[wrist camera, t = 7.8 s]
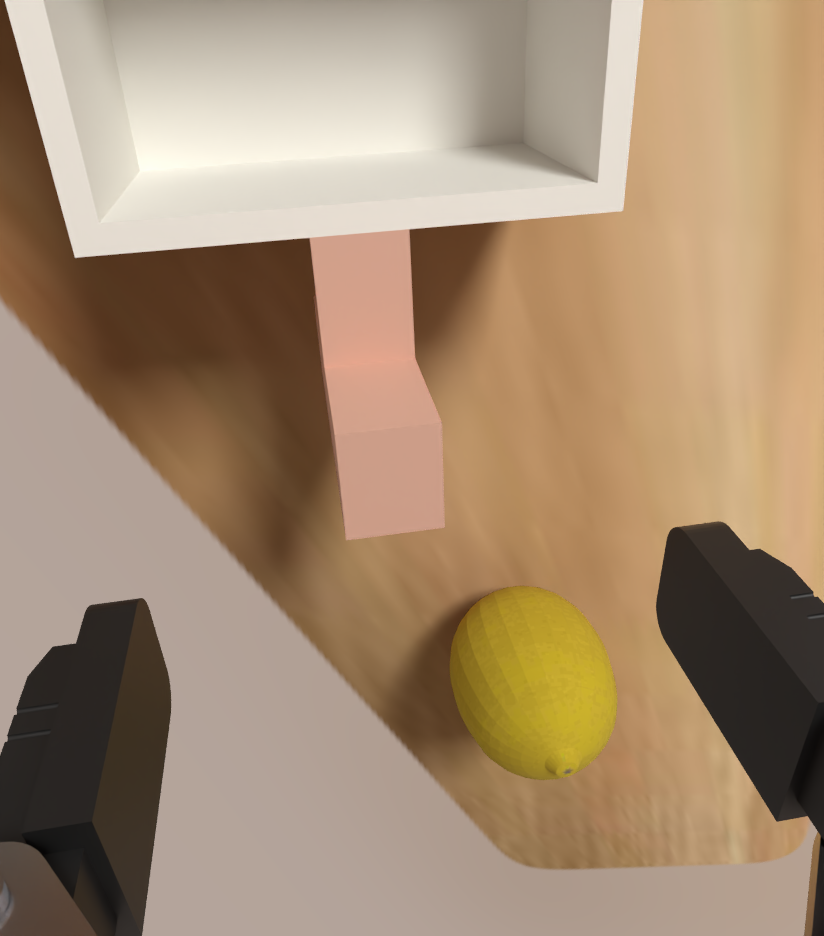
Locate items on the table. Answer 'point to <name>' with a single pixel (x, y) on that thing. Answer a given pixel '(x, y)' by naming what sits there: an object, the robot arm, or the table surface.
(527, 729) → the lemon
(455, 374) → the table surface
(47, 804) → the robot arm
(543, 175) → the drawer
